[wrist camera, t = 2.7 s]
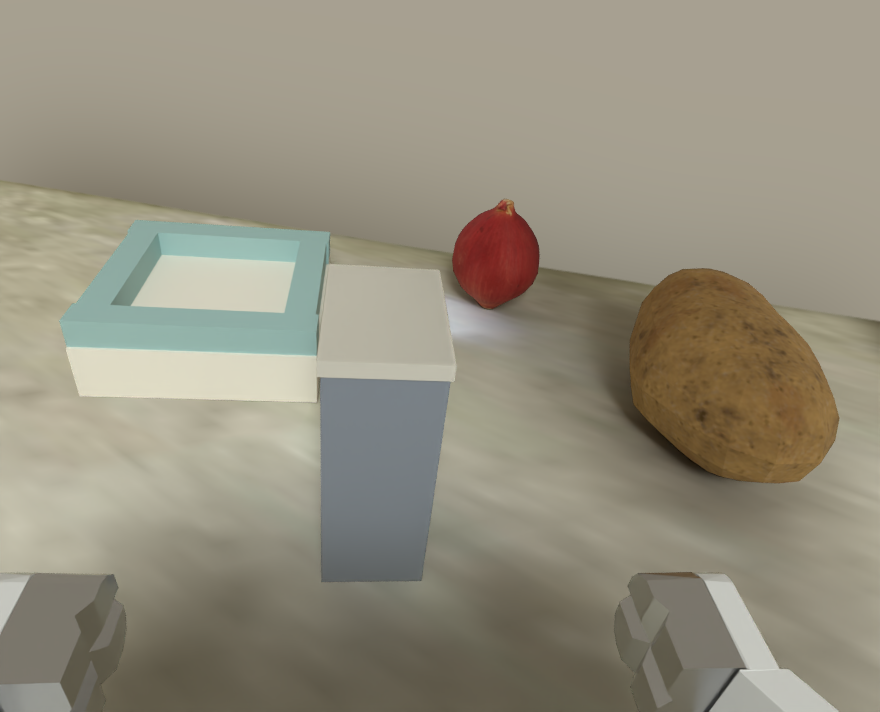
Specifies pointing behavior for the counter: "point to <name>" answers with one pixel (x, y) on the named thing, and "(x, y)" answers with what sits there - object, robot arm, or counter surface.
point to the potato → (730, 379)
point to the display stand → (202, 315)
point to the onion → (496, 256)
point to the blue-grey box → (381, 418)
